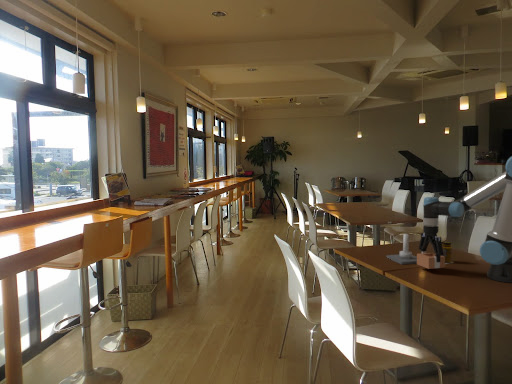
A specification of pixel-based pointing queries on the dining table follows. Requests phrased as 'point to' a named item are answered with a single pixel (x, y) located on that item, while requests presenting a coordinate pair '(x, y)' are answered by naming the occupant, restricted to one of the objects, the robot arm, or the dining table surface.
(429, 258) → the collar
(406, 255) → the post stand
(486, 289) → the dining table surface
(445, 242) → the condiment
